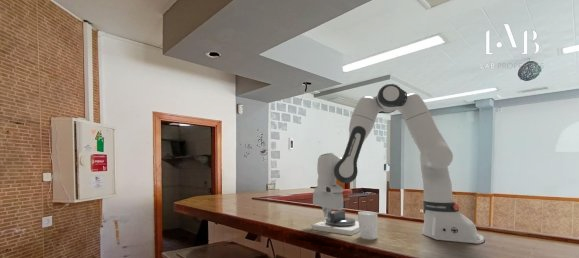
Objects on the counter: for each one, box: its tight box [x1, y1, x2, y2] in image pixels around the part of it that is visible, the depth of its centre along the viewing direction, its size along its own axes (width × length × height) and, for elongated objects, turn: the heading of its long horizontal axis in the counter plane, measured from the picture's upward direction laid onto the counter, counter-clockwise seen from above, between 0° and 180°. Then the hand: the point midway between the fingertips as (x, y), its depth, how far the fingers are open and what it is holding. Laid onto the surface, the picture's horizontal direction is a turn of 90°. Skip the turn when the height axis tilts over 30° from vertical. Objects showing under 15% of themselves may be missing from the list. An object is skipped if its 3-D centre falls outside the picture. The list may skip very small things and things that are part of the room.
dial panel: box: [311, 219, 360, 236], centre depth 134 cm, size 20×20×2 cm
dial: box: [325, 209, 356, 226], centre depth 134 cm, size 16×14×6 cm
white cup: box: [357, 210, 378, 240], centre depth 118 cm, size 8×8×10 cm
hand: (327, 217), depth 132 cm, fingers closed
